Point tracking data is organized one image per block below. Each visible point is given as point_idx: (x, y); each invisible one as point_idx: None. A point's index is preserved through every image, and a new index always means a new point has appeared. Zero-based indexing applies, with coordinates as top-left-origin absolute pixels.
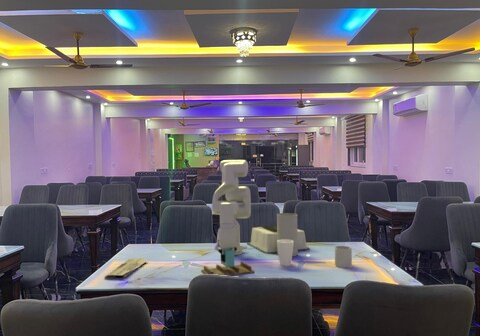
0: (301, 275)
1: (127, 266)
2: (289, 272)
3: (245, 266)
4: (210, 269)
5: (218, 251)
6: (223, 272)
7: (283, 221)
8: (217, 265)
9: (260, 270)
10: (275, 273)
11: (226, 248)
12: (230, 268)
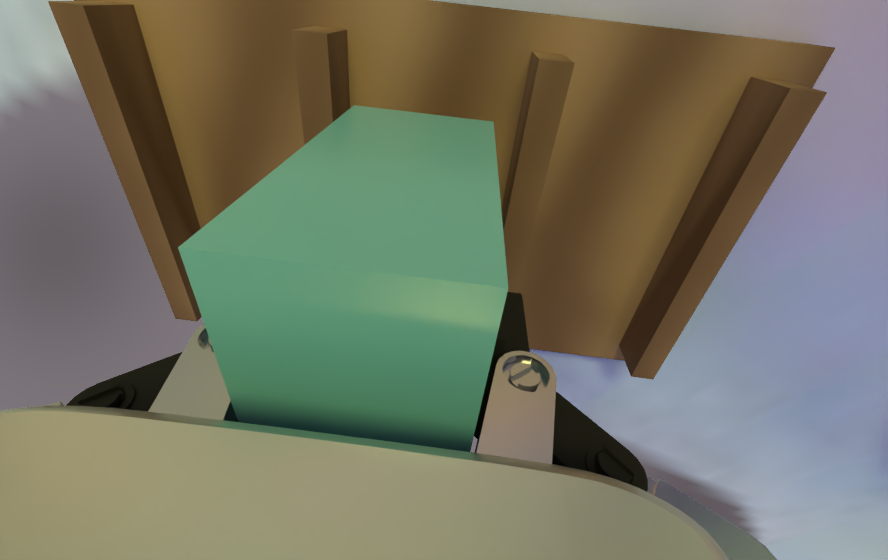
0: (826, 522)
1: None
2: (859, 465)
3: (672, 267)
4: (214, 34)
5: (123, 388)
6: None
7: None
8: (299, 99)
9: (762, 327)
10: (757, 436)
11: (374, 399)
12: (502, 158)
